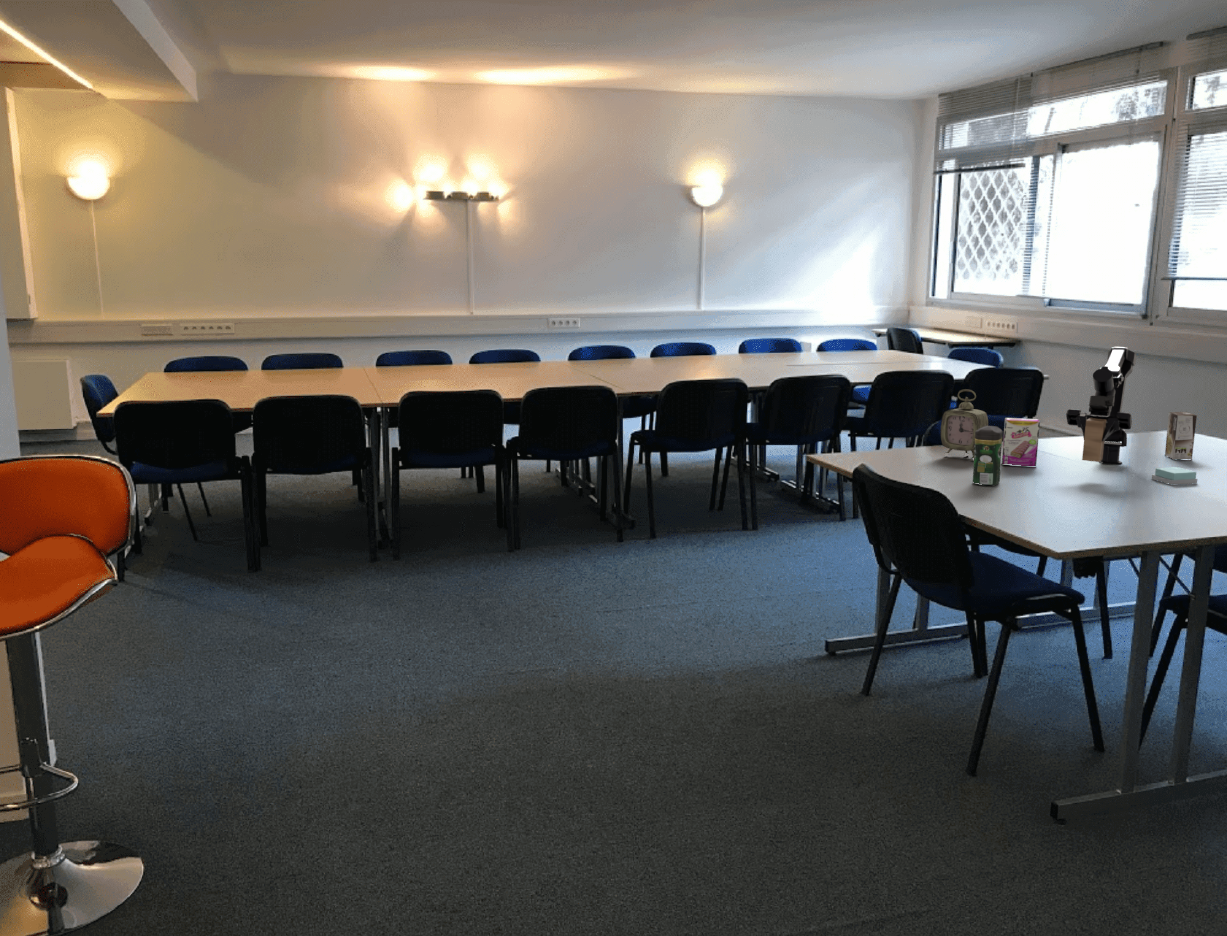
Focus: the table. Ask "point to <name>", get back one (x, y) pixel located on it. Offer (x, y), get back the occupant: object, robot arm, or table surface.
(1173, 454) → the coffee box
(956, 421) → the tabletop clock
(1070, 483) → the table surface
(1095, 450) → the walnut pillar
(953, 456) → the table surface
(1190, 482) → the tower base block
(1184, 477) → the tower top block
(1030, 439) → the candy bar box
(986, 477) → the coffee jar
